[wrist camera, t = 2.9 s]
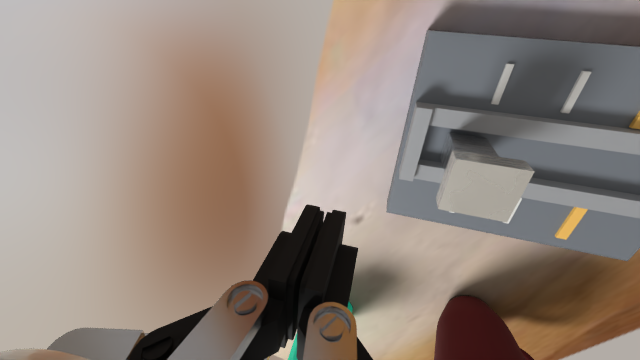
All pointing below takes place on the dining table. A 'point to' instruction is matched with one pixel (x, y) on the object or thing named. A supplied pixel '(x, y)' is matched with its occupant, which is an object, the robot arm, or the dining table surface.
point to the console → (531, 135)
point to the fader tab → (480, 179)
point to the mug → (474, 333)
